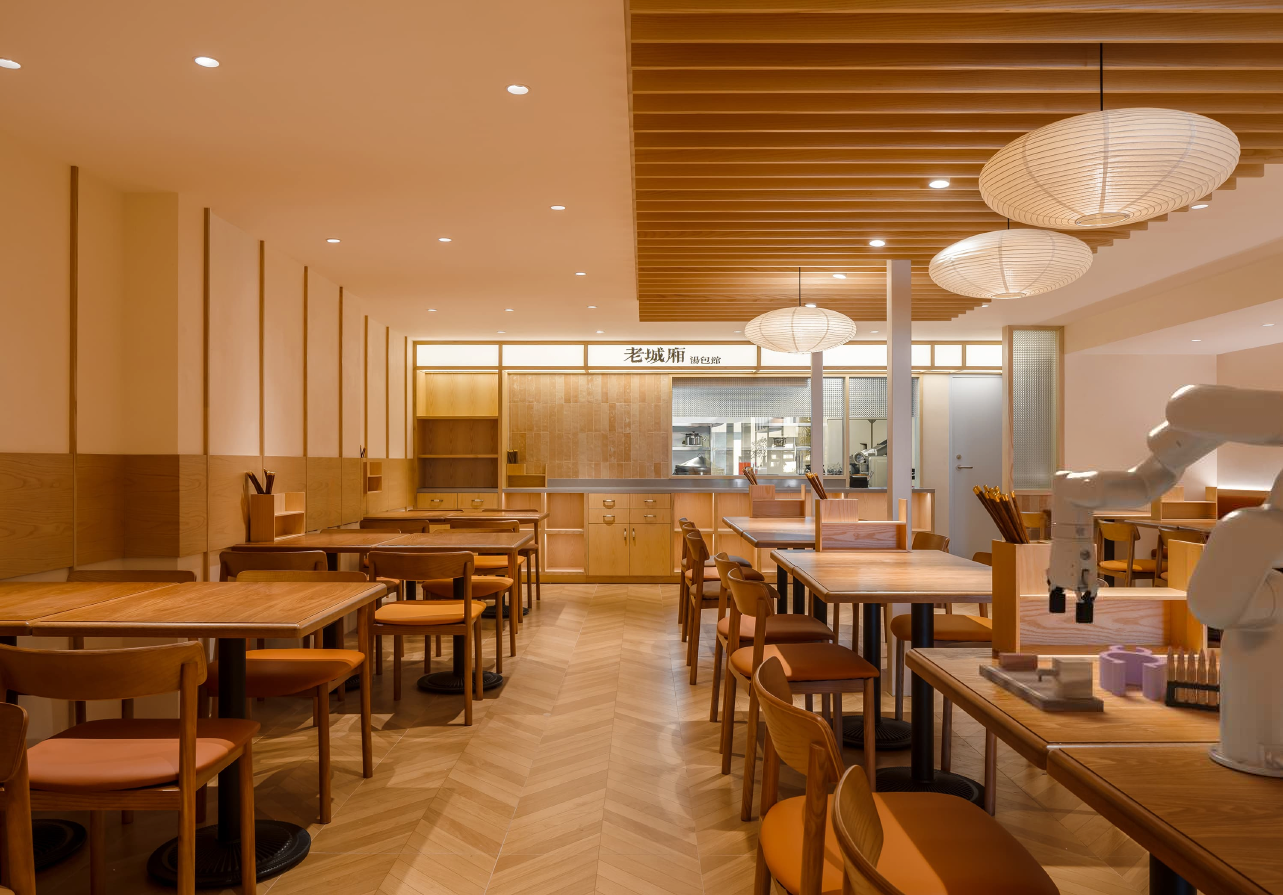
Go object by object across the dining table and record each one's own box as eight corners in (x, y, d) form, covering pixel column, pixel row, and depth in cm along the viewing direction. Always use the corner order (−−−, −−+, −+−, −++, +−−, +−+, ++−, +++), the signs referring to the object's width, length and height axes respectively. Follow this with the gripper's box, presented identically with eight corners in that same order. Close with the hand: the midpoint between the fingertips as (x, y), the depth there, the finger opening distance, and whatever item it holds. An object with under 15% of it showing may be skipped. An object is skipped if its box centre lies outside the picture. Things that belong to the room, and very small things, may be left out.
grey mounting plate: (1103, 711, 160) (1103, 685, 160) (1043, 710, 159) (1043, 684, 159) (1030, 674, 188) (1030, 652, 188) (979, 673, 187) (979, 651, 187)
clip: (1098, 673, 190) (1098, 643, 190) (1161, 680, 184) (1161, 649, 184) (1100, 694, 172) (1100, 661, 173) (1170, 703, 167) (1170, 668, 167)
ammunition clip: (1165, 706, 164) (1165, 645, 164) (1164, 703, 165) (1164, 644, 166) (1230, 713, 159) (1230, 651, 159) (1228, 711, 161) (1228, 649, 161)
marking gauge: (1092, 697, 162) (1092, 662, 162) (1042, 697, 161) (1042, 661, 162) (1081, 692, 166) (1081, 657, 166) (1032, 691, 165) (1032, 657, 166)
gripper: (1116, 537, 156) (1114, 627, 156) (1066, 528, 173) (1065, 609, 173) (1077, 536, 156) (1076, 627, 156) (1031, 528, 173) (1030, 609, 173)
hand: (1070, 617), depth 164 cm, fingers open, 9 cm apart
